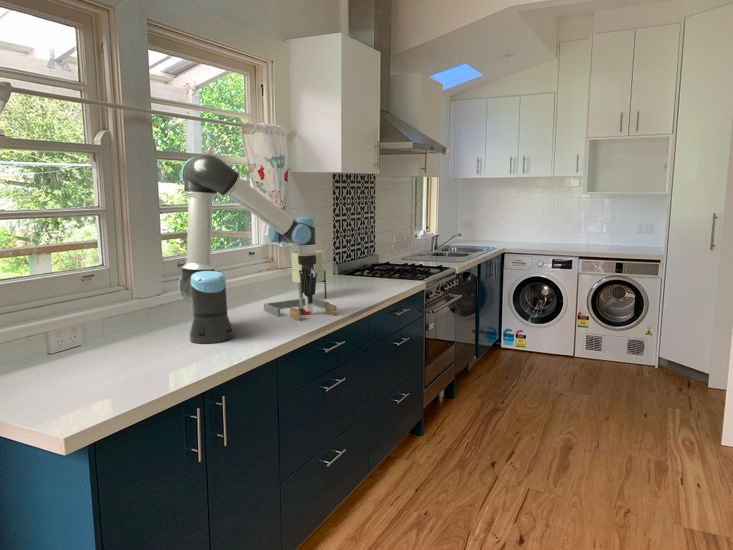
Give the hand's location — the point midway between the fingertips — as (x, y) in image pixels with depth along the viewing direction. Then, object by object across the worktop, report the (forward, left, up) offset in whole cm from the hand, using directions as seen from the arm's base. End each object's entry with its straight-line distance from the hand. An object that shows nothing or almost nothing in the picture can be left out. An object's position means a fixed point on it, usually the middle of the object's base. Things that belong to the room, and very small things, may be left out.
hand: (309, 310), depth 236 cm
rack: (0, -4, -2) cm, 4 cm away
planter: (+15, +32, -2) cm, 35 cm away
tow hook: (-2, +6, -2) cm, 6 cm away
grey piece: (0, +13, -2) cm, 13 cm away
